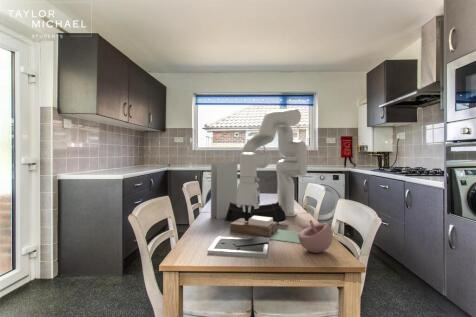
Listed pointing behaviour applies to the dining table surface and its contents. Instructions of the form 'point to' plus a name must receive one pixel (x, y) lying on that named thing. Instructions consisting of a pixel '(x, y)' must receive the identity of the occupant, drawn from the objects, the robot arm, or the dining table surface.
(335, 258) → the dining table surface
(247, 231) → the block
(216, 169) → the tall grey block
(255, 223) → the tile
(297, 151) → the robot arm
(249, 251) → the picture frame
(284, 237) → the mat
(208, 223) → the dining table surface
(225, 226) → the dining table surface
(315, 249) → the mortar and pestle
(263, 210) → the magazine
